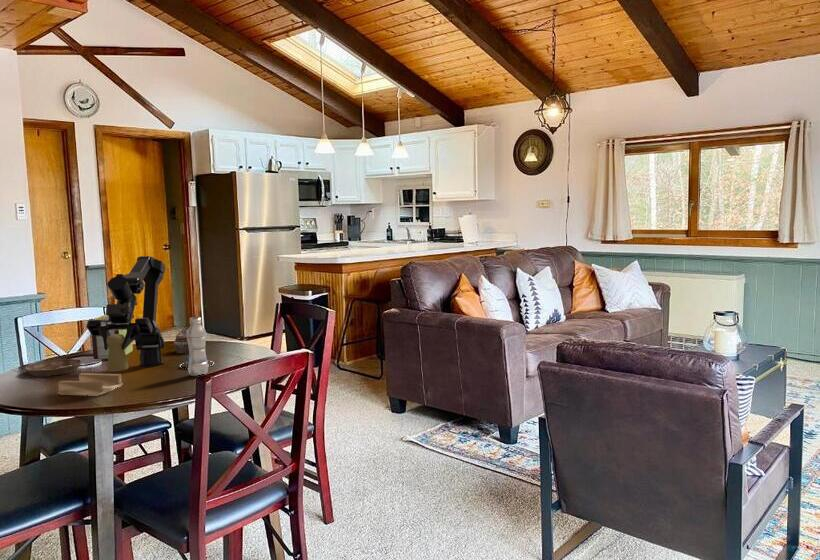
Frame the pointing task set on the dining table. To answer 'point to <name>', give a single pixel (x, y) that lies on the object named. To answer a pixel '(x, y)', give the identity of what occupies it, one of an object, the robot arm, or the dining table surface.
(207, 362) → the patterned bowl
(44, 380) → the dining table surface
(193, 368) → the plastic bottle
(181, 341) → the cupcake
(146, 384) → the dining table surface
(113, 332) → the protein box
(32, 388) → the dining table surface
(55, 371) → the plant saucer
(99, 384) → the cradle
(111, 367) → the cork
